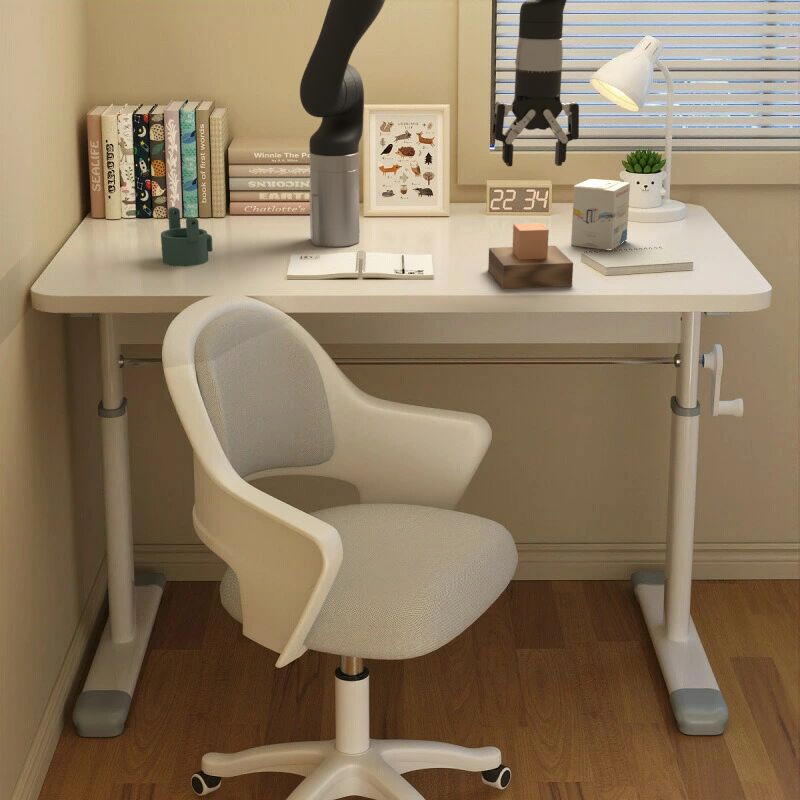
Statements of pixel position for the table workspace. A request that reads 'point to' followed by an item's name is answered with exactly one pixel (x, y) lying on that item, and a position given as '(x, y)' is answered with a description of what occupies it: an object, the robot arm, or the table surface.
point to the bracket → (184, 242)
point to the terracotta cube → (530, 241)
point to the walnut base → (530, 269)
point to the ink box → (600, 213)
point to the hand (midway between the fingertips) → (533, 165)
